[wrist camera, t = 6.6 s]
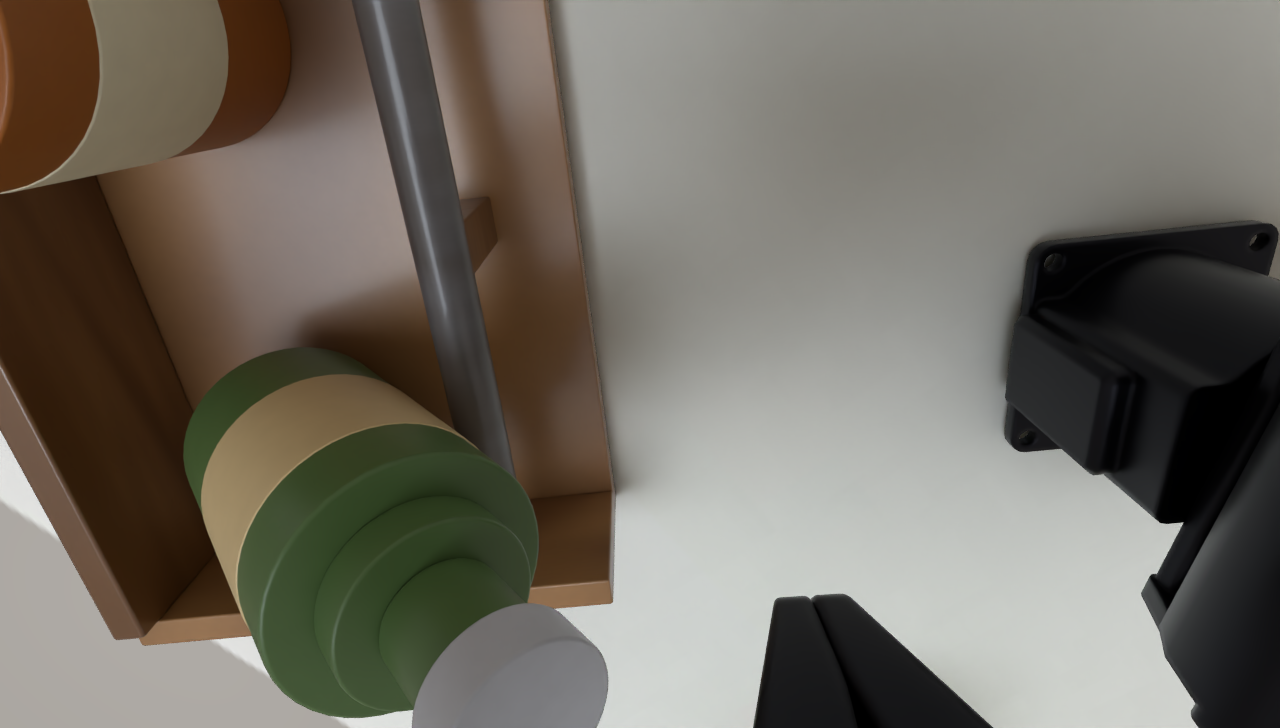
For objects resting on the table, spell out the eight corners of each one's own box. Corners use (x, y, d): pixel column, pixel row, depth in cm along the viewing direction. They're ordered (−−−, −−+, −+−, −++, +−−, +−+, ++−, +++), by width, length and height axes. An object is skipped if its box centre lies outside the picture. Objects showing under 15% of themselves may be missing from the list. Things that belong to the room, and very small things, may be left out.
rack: (516, -238, 15) (459, -394, 10) (615, 497, 22) (612, 621, 17) (-54, -170, 15) (-395, -287, 10) (237, 532, 22) (126, 665, 17)
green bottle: (600, 296, 19) (578, 620, 8) (621, 461, 21) (628, 897, 10) (221, 336, 19) (-327, 711, 8) (281, 496, 21) (-85, 966, 10)
